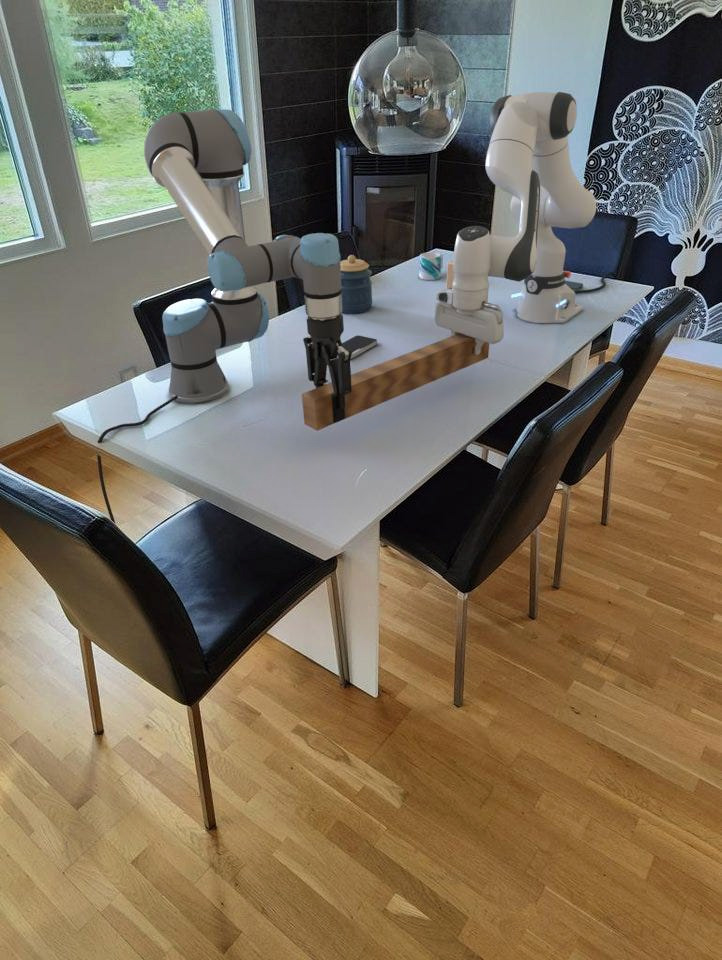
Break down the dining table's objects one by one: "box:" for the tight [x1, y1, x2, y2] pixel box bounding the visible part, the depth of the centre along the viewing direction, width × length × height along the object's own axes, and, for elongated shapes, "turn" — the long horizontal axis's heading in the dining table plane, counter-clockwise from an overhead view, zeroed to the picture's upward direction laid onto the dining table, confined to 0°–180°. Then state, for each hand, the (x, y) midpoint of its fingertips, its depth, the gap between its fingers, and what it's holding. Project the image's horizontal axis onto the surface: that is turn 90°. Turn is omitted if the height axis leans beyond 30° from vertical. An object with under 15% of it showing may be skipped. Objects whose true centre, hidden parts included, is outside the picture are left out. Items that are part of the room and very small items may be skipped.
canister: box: [340, 254, 373, 314], centre depth 225 cm, size 13×13×18 cm
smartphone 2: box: [565, 280, 584, 291], centre depth 241 cm, size 8×2×15 cm
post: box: [301, 333, 490, 432], centre depth 160 cm, size 57×5×7 cm, turn 131°
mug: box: [418, 251, 444, 281], centre depth 257 cm, size 8×12×8 cm
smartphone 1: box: [342, 334, 378, 360], centre depth 198 cm, size 8×1×15 cm
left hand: (331, 416), depth 149 cm, fingers closed on post, 5 cm apart
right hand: (467, 350), depth 172 cm, fingers closed on post, 4 cm apart
